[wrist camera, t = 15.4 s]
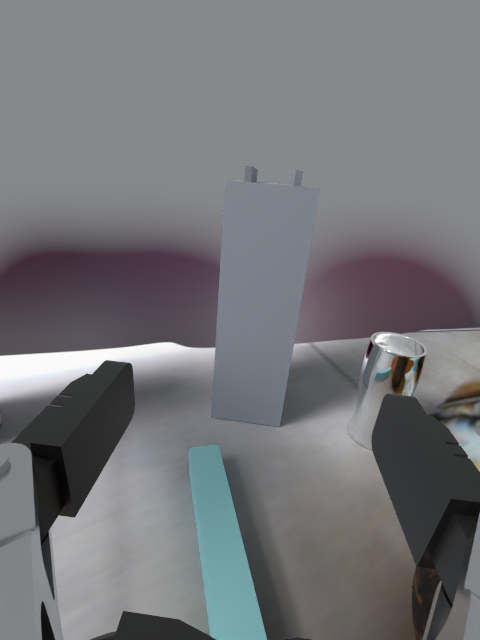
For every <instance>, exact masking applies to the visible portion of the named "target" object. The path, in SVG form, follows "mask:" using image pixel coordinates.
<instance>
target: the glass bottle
mask: <svg viewBox="0 0 480 640" xmlns="http://www.w3.org/2000/svg"><path fill="white" fill-rule="evenodd" d="M440 581H441V579H440V577H439V575H438V572H437V570H436V569H430V568H422V567H417V566H416V570H415V574H414V579H413V586H412V588H413V593H412V611H413V623H414V630H415V636H416V640H422V639H423V635H424V631H425V628H426V624H427V621H428V617H429V614H430V610H431V607H432V603H433V599H434V596H435V592H436V589H437V587H438V584H439V583H440Z"/></svg>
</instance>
